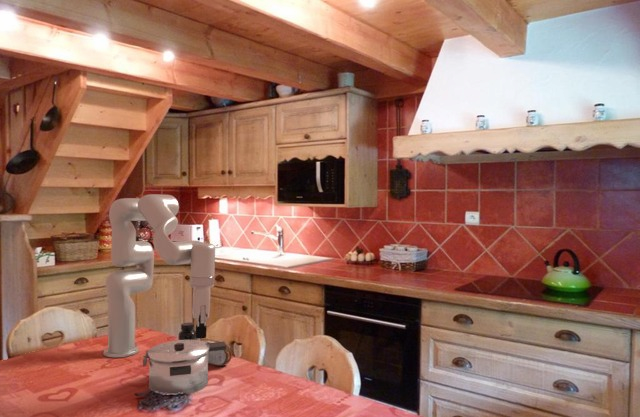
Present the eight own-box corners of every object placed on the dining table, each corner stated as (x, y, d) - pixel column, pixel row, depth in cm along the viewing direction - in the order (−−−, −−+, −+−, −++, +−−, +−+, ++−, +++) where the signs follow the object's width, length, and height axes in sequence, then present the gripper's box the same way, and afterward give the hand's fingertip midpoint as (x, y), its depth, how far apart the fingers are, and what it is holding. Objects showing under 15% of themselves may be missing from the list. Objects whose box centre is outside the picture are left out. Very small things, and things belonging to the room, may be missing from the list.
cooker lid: (146, 347, 154) (146, 339, 154) (221, 339, 162) (221, 331, 162) (144, 366, 136) (144, 357, 136) (229, 356, 144) (228, 348, 144)
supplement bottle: (189, 351, 181) (189, 320, 181) (200, 354, 177) (201, 323, 177) (174, 355, 176) (174, 324, 176) (186, 359, 172) (186, 327, 172)
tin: (231, 366, 166) (232, 342, 166) (226, 369, 163) (226, 345, 163) (198, 359, 172) (199, 336, 172) (193, 361, 170) (193, 338, 170)
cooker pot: (144, 374, 156) (144, 345, 156) (204, 368, 163) (205, 340, 163) (141, 403, 134) (141, 369, 134) (211, 395, 140) (211, 363, 140)
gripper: (189, 277, 156) (187, 331, 157) (191, 286, 142) (190, 345, 143) (211, 277, 159) (210, 330, 159) (216, 285, 145) (215, 344, 145)
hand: (200, 337), depth 151 cm, fingers closed
